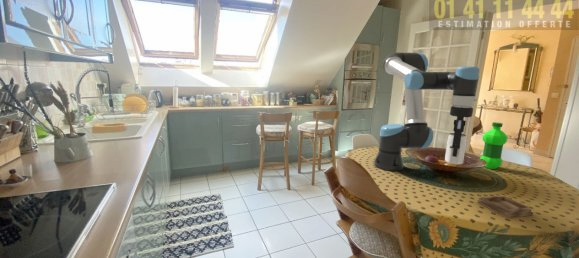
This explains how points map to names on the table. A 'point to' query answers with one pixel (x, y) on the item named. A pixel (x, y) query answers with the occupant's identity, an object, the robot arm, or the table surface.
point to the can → (462, 148)
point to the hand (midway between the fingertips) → (453, 161)
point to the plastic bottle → (494, 146)
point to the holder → (505, 206)
